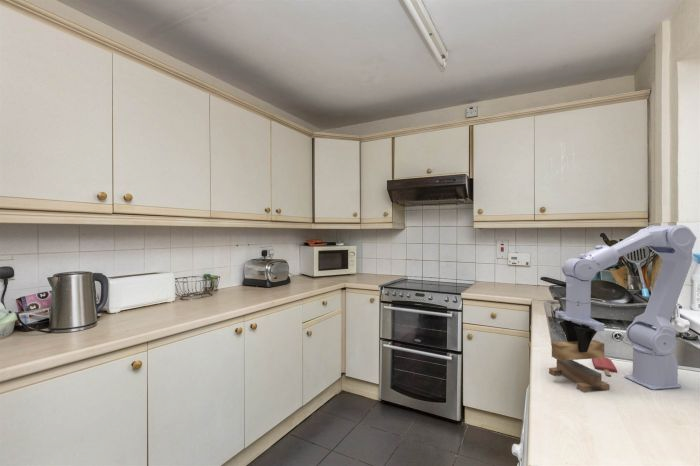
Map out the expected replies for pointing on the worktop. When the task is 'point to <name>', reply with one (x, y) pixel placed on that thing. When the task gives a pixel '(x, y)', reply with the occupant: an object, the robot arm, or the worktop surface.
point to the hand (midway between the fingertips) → (577, 349)
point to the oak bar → (576, 350)
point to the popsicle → (604, 365)
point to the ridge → (580, 376)
